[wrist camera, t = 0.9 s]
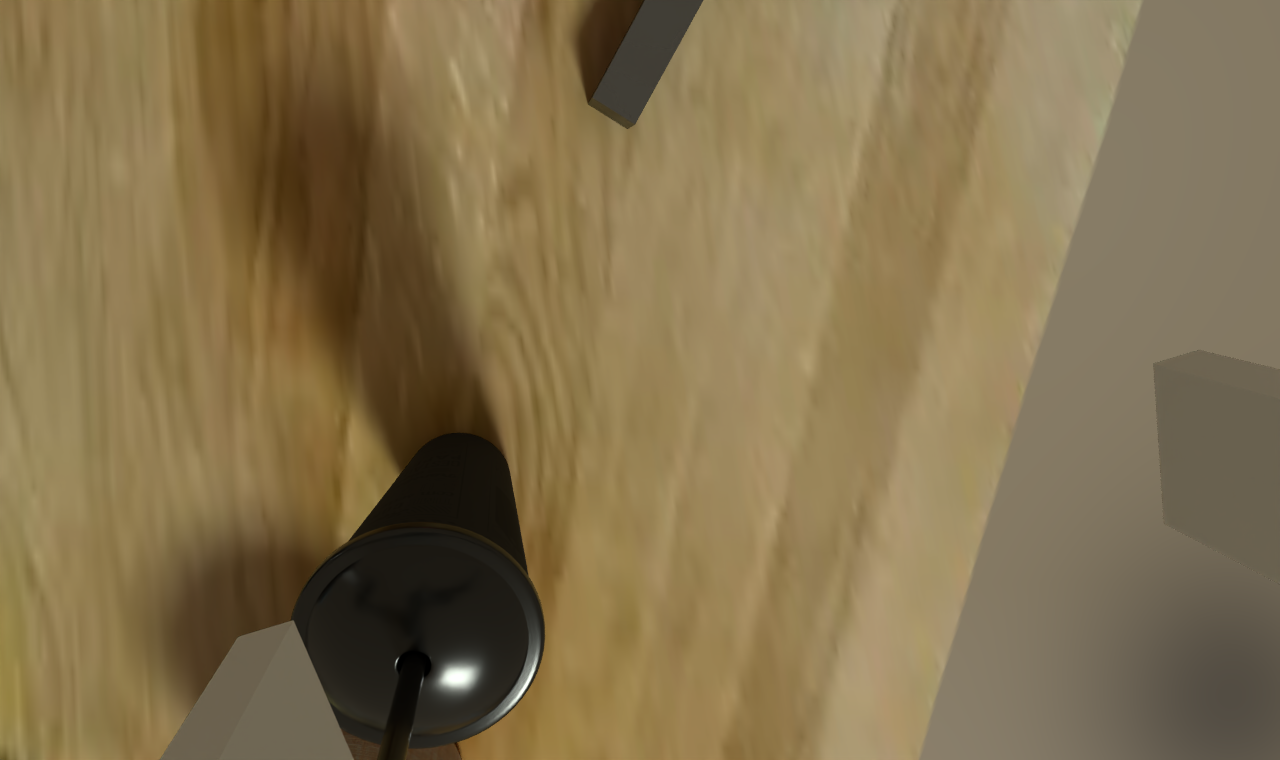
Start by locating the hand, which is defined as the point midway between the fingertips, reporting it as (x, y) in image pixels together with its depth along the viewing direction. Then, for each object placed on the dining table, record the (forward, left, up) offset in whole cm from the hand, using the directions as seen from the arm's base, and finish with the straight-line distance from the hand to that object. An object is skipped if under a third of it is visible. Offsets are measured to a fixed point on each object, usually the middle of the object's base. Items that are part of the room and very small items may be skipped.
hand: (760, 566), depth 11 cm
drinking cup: (-2, -10, -25) cm, 28 cm away
